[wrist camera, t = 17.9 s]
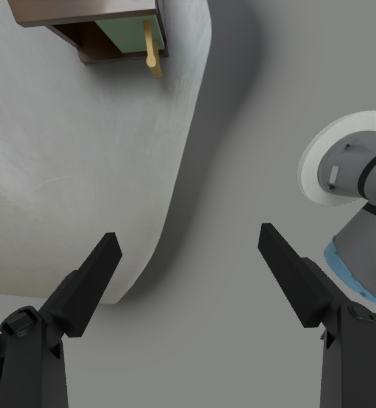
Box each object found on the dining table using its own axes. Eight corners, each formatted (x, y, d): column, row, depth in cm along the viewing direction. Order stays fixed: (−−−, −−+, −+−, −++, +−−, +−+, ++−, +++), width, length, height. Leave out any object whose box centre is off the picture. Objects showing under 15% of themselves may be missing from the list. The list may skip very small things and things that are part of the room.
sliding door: (164, 43, 27) (151, -1, 18) (168, 82, 29) (159, 62, 20) (121, 47, 27) (87, 6, 18) (128, 85, 30) (102, 67, 20)
